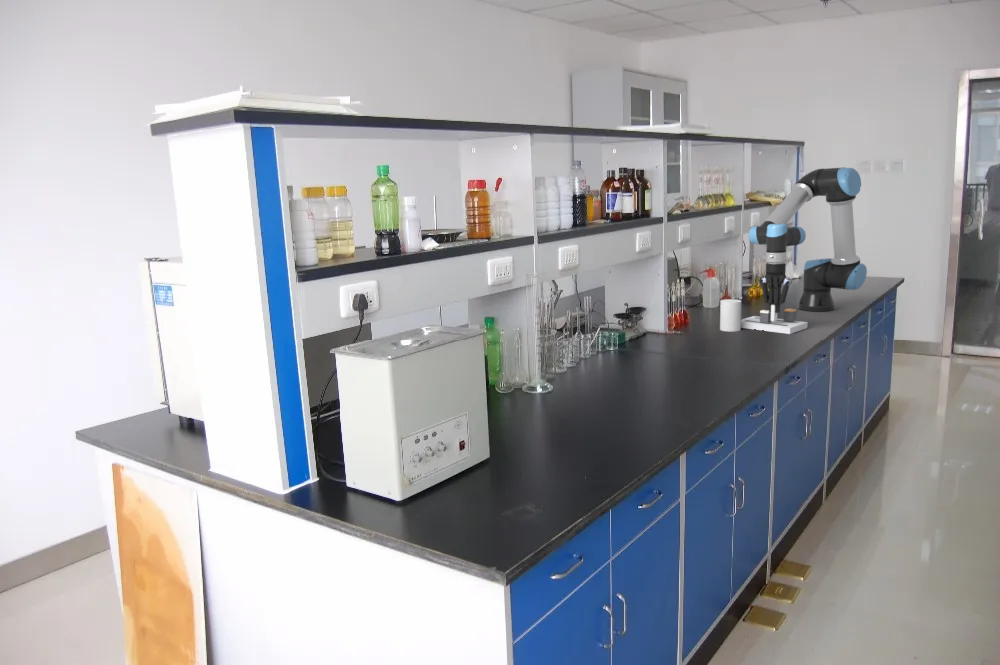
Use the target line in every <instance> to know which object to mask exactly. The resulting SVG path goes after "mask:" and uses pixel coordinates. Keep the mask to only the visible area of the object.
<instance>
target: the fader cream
mask: <svg viewBox="0 0 1000 665" xmlns="http://www.w3.org/2000/svg"><path fill="white" fill-rule="evenodd" d="M759 317H760V322H763V323H770V322H771V312H769V309H761V310H760V311H759Z"/></svg>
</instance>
